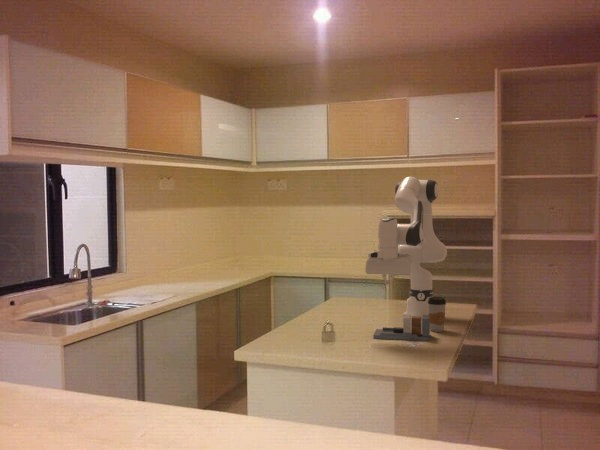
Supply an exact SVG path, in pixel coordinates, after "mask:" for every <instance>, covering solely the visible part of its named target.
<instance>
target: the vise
mask: <svg viewBox="0 0 600 450" xmlns="http://www.w3.org/2000/svg"><path fill="white" fill-rule="evenodd" d="M430 331H431V330H430V315H423V316H422V317H421V335H418V334H406V333H394V327H384V326H383V327H382V328H381V329H380V328H376V329H375V331H374V332H373V339H377V340H378V339H380V340H397V341H398V340H399V341H400V340H402V341H419V342H420V341H421V342H423V341H424V342H430V338H431V333H430Z"/></svg>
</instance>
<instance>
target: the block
mask: <svg viewBox="0 0 600 450" xmlns="http://www.w3.org/2000/svg"><path fill="white" fill-rule="evenodd" d="M412 334H418V335H421V316H412Z"/></svg>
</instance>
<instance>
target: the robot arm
mask: <svg viewBox="0 0 600 450" xmlns="http://www.w3.org/2000/svg"><path fill="white" fill-rule="evenodd" d="M394 189H395V190H394V195H395V196H394V204H395V206H396V208H397V209H398V210H399V211H401V212H403V213H407V214H408V215H410V223H398V220H397V218H396V217H394V216H383V217H381V218H380V219H379V221H378V229H377V231H378V232H377V238H378V246H377V247H378V249H377V250H376V249H375V250H373V251H369V253H368V254H367V255H368V259H366V261H365V268H364V269H365V270H364V271H365V273H366V275H382V278H383V280H384V285H386V286H387V285H391V286H392V283H393V282H392V281H393V279H394V278H395V275H398V276H399V275H400V276H401V275H402V276H403V275H404V276H409V278H410V288H409V297H408V298H407V299H406V311H404V312H403V313H402V314H403V316H404V314H411V316H421V317H422V316H423V315H429V310H428V300H429V298H430V297H434V289H433V274H432V273H431V271H429V270H428V269H426V268H424V267H422V266H421V265H420V264H421V263H426V264H427V263H429V264H430V263H431V264H432V263H440V262H443V261H445V260H446V258H447V255H448V250H447V247H446V245H445V244H444V242H442V241H440V239H438V237H437V236H436V234H435V231H434V226H433V225H434V224H433V207H432V205H433V204H432V203H433V202H434V201H436V199H437V198H438V197H439V192H440V189H439V185H438V182H437V181H436V180H433V179H418V178H417V177H414V176H406V177H405V178H403V180H402V181H399V182H398V183H397V184H396V185H395V188H394ZM387 275H390V277H391V278H390V279H387V278H386V276H387Z"/></svg>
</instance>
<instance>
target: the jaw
mask: <svg viewBox="0 0 600 450" xmlns="http://www.w3.org/2000/svg"><path fill="white" fill-rule="evenodd" d="M402 318H403V319H402V320H403V321H402V322H403V323H402V324H403V325H402V327H399V326H397V327H396V326H394V327H393V328H394V333H406V334H412V316H411V314H404V315H403V317H402Z"/></svg>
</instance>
